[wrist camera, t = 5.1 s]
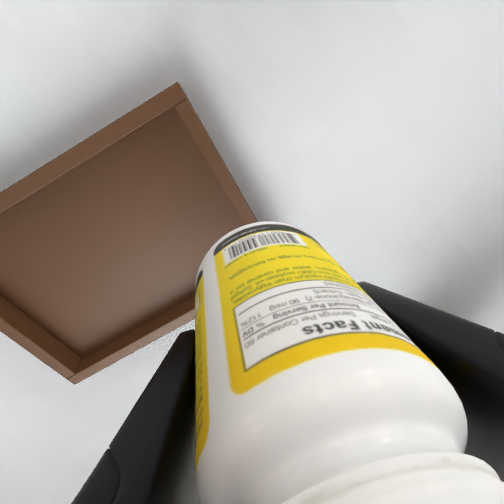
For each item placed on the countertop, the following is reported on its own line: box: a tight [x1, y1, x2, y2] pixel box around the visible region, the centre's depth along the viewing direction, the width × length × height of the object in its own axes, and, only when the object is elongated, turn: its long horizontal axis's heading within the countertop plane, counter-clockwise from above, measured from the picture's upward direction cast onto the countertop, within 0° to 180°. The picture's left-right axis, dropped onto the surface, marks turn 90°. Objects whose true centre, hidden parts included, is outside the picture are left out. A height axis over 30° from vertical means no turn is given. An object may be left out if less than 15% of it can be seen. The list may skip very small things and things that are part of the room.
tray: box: [0, 82, 257, 384], centre depth 18 cm, size 13×18×2 cm
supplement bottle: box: [195, 221, 504, 504], centre depth 7 cm, size 5×5×8 cm
